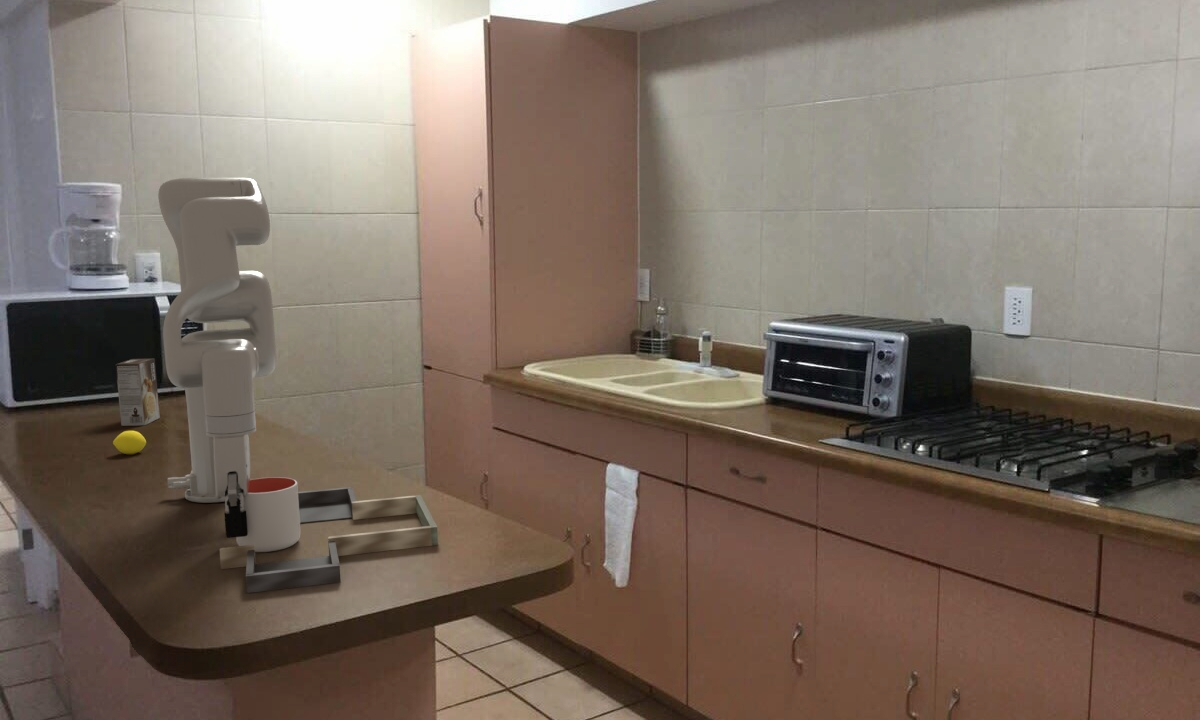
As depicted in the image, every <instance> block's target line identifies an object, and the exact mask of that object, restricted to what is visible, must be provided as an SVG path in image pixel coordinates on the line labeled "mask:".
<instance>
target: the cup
mask: <svg viewBox="0 0 1200 720" xmlns="http://www.w3.org/2000/svg"><path fill="white" fill-rule="evenodd" d="M298 485H299V484H298V481H297V480H296V479H293V478H291V477H284V476H283V477H282V476H281V477H280V476H278V477H277V476H275V477H274V476H273V477H261V478H254V479H250V484H249V491H248V494H247V495H246V496H245V497H244V511H246V516H247V530H248V534H247V536H244V537H235V539H236V544H237V546H245V545H254V547H255V553H267V552H277V551H281V550H285V549H287V548H289V547H292V546H294V545H295V544H296V543H297V542H298V541H299V539H300V537H301V534H302V533H301V524H300V515H299V500H298V492H299V487H298ZM237 493H238V492H237Z"/></svg>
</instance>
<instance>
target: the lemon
mask: <svg viewBox="0 0 1200 720" xmlns="http://www.w3.org/2000/svg"><path fill="white" fill-rule="evenodd" d="M112 444H113V446H114V447H115V448H116V450H118V452H120V453H122V454H124V455H125V454H126V455H135V454H138V453H139V452H140V453H141V451H142V450H143V449H144V448H145V446H146V444H147V440H146V439H145V437H144V436H143V434H141V433H140V432H139V431H136V430H125V431H123V432H121V433H120V434H118V435H117V436H116V437H115V438H114V440H113V441H112Z"/></svg>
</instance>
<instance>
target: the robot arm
mask: <svg viewBox="0 0 1200 720" xmlns="http://www.w3.org/2000/svg"><path fill="white" fill-rule="evenodd" d="M261 189H262V188H260V185H259V183H258V182H257V181H256V180H254V179H252V178H249V177H182V178H173V179H170V180H167V181H165V182H163V183H162V184H161V185H160V187H159V188H158V194H157V195H158V203H159V210H160V213H161V215H162V218H163V221H164V222H165V223H164V224H165V225H166V228H167V230H168V231H169V233H170V235H171V238H172V239H173V241H174V244H175V248H176V251H177V260H178V272H179V282H180V284H179V285H180V292H179V293H178V294H177V295H176V297H175V298H174V300H173V301H172V303H171V304H170V305H169V307H168V309H167V312H166V314H165V317H164V322H163V329H162V330H163V331H162V335H163V337H162V338H163V347H164V350H163V351H164V361H165V369H166V373H167V377H168V379H169V381H170V383H171V384H172V385H174V386H175V387H177V388H180V389H184V392H185V400H186V412H187V422H188V425H187V426H188V435H189V450H190V460H191V461H190V462H191V470H190V474H185V475H184V476H180V477H179V476H172V477H167V488H169V489H171V488H173V490H178V489H185V488H186V490H185V492H184V497H185V499H186V500H187V501H189V502H194V503H201V504H203V503H205V504H206V503H207V504H208V503H211V504H214V503H222V502H223V503H224V507H225V508H224V509H225V511H224V523H225V524H224V527H225V529H224V530H225V536H226V538H227V539H232V538H236V537H244V536H247V534H248V530H247V516H246V511H244V497H245V496H246V495H247V494H248V491H249V484H250V480H251V454H250V453H251V452H250V450H251V449H250V436H249V435H251V434H254V433H255V432H257V421H256V410H255V409H256V408H255V407H256V406H255V397H254V396H255V395H254V378H260V377H261V378H262V377H267V376H269V375H271V374H272V373H273V372H274V371H275V369H276V366H277V344H276V334H275V333H276V332H275V322H274V321H275V320H274V319H275V318H274V307H273V297H272V296H273V295H272V289H271V286H270V283H269V281H268V279H267V277H266V276H265V275H264V273H262V272H260V271H257V270H240V269H239V262H238V261H239V260H238V254H237V247H238V246H260V245H263V244H265V243H266V242H267V241H268V239H269V238H270V234H271V233H270V232H271V220H270V212H269V209H268V206H267V202H266V200H265V197H264V195H263V192H262V190H261ZM187 319H188V321H190V322H193V323H197V324H212V323H214V324H215V323H217V324H218V323H232V322H233V323H234V322H244V323H247V324H248V325H249V327H245V328H243V327H242V328H230V329H229V328H224V329H223V328H222V329H209V330H208V329H207V330H199V331H195V332H190V333H188V334H186V335H185V336H183V337H182V327H183V324H184V322H185V321H186V320H187ZM237 492H238V493H237Z"/></svg>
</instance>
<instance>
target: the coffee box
mask: <svg viewBox="0 0 1200 720" xmlns="http://www.w3.org/2000/svg"><path fill="white" fill-rule="evenodd" d="M115 372H116V383H117V392H118V394H117V395H118V403H119V404H118V405H119V415H120V425H121V426H124V427H125V426H126V427H127V426H128V427H129V426H132V427H133V426H147V425H148V424H151V423H152V422H154V421H157V420H158V419H160V418H161V415H160V406H159V405H160V404H159V393H158V383H157V382H158V381H157V371H156V359H155V358H131V359H129V360H125V361H122V362H118V363H116V364H115Z"/></svg>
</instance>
